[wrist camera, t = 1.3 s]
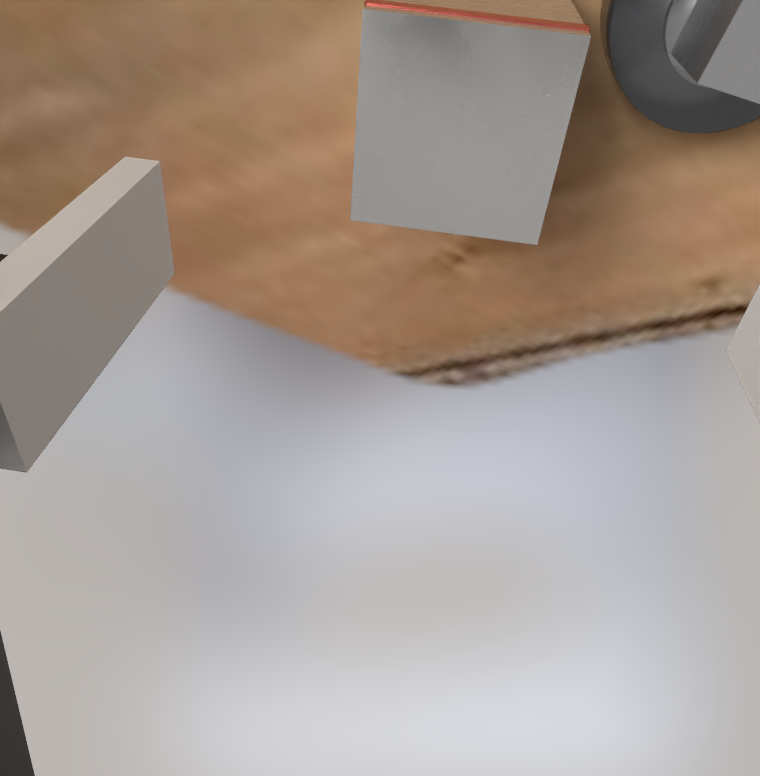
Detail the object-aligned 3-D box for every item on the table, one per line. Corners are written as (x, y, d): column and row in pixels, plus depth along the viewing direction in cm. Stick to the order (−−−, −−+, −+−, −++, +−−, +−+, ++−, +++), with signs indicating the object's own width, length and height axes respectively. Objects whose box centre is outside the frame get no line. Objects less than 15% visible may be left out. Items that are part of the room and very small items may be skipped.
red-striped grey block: (383, 126, 30) (348, 221, 23) (397, -41, 26) (361, 6, 19) (524, 144, 30) (538, 246, 23) (561, -22, 26) (593, 33, 18)
